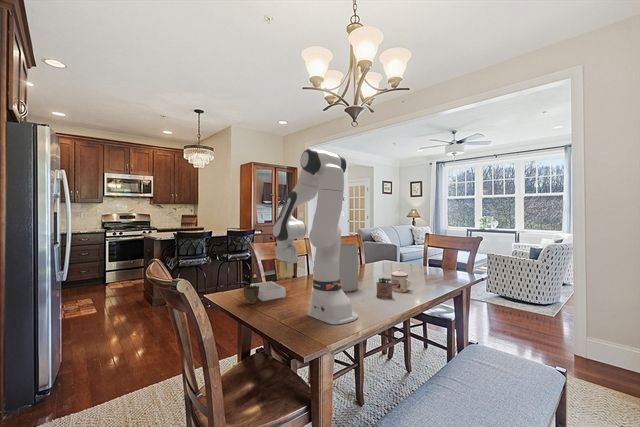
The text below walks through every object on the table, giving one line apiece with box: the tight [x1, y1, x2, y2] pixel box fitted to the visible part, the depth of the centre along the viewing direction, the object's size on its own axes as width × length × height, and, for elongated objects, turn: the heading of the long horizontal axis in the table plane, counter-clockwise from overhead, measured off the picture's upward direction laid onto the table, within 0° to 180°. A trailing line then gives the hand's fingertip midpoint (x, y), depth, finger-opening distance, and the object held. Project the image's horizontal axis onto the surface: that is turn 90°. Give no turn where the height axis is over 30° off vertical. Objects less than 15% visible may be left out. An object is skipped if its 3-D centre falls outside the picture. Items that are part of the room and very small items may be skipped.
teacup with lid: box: [390, 268, 412, 293], centre depth 159 cm, size 12×9×12 cm
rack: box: [249, 280, 286, 302], centre depth 152 cm, size 18×13×4 cm
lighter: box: [375, 276, 393, 300], centre depth 146 cm, size 8×3×10 cm, turn 68°
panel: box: [279, 260, 294, 278], centre depth 157 cm, size 2×7×8 cm, turn 123°
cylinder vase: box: [339, 243, 359, 293], centre depth 162 cm, size 12×12×25 cm
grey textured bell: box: [243, 285, 259, 305], centre depth 137 cm, size 8×7×8 cm
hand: (286, 269), depth 157 cm, fingers closed on panel, 2 cm apart
